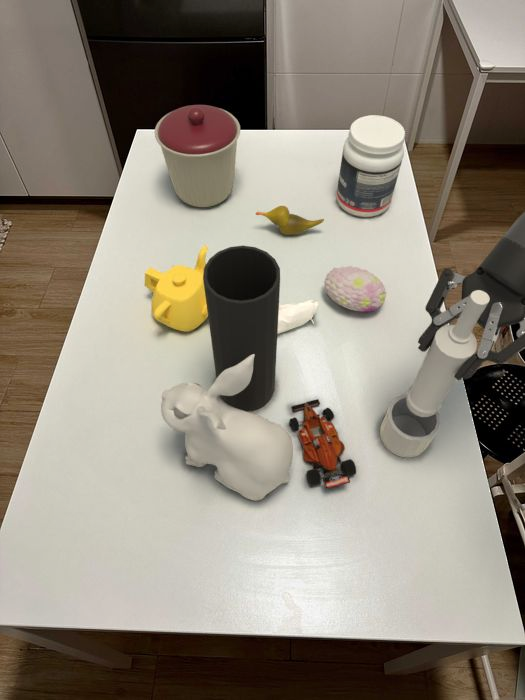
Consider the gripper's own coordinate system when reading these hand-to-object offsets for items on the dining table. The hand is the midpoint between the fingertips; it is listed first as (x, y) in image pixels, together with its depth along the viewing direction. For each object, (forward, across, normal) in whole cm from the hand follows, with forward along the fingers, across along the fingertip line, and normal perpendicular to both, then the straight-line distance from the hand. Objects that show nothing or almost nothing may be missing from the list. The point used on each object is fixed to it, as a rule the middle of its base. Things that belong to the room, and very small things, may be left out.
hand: (439, 363), depth 66 cm
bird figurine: (+16, -30, +20) cm, 40 cm away
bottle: (+8, 0, +11) cm, 13 cm away
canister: (+7, -72, +28) cm, 78 cm away
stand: (+16, 0, +19) cm, 25 cm away
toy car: (+25, -8, +11) cm, 28 cm away
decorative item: (+6, -26, +30) cm, 40 cm away
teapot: (+24, -46, +12) cm, 53 cm away
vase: (+26, -25, +9) cm, 38 cm away
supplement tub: (-11, -45, +47) cm, 66 cm away
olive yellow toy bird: (+3, -49, +33) cm, 59 cm away
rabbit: (+34, -16, +2) cm, 38 cm away
